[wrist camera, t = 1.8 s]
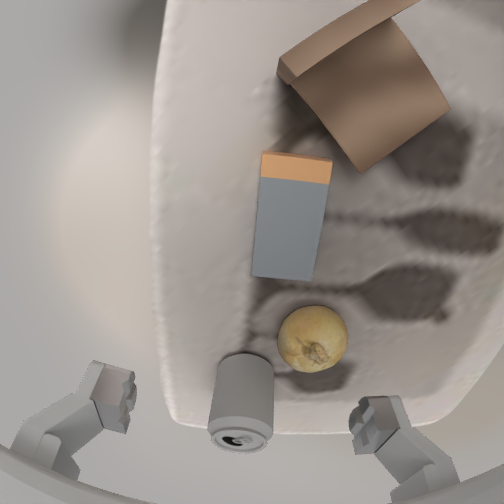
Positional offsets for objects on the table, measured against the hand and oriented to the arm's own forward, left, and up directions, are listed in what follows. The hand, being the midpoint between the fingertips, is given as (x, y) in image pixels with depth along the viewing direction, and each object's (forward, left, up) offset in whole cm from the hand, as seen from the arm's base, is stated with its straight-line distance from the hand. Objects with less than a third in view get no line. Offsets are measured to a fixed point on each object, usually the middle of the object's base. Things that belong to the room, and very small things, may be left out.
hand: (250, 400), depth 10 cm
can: (0, +23, -22) cm, 32 cm away
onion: (-7, +14, -22) cm, 27 cm away
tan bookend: (-8, -12, -22) cm, 26 cm away
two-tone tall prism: (-2, +1, -22) cm, 22 cm away
